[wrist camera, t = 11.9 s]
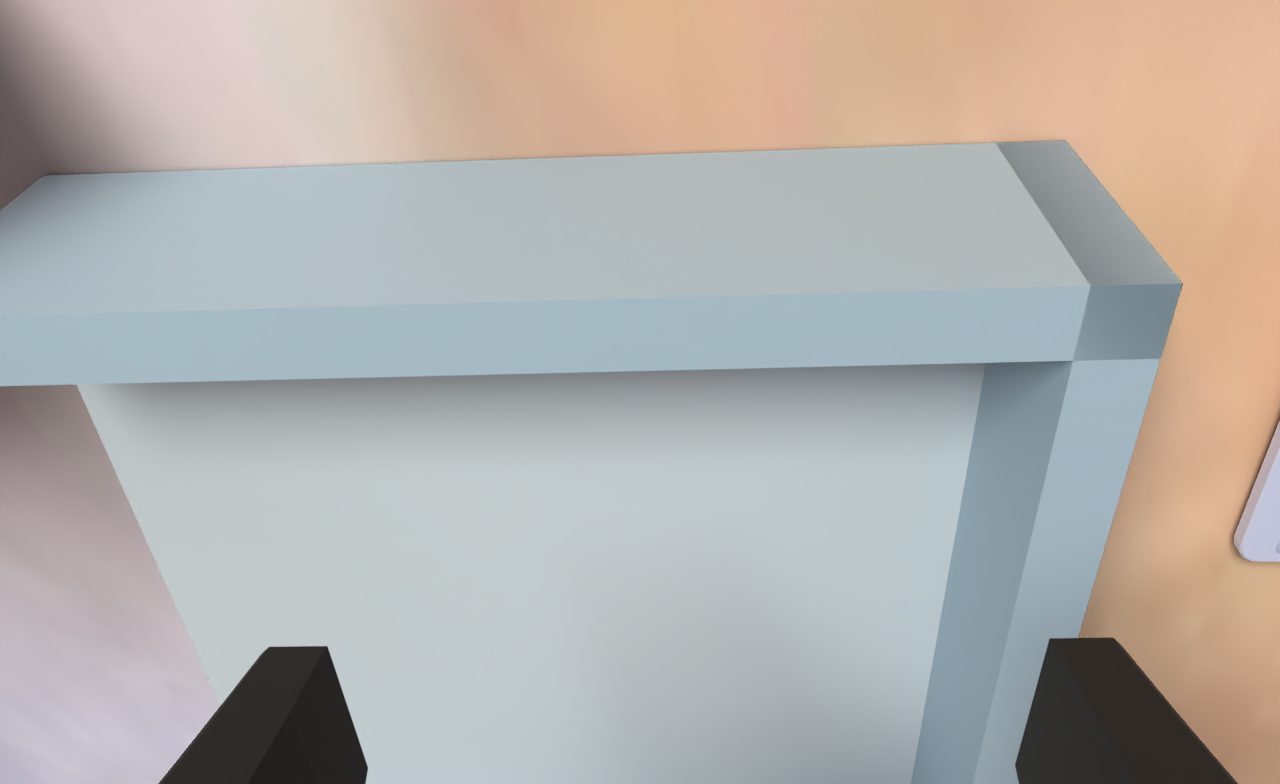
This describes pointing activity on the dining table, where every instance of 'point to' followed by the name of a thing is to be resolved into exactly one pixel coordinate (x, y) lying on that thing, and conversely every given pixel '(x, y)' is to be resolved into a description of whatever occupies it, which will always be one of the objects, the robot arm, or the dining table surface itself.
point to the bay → (617, 441)
